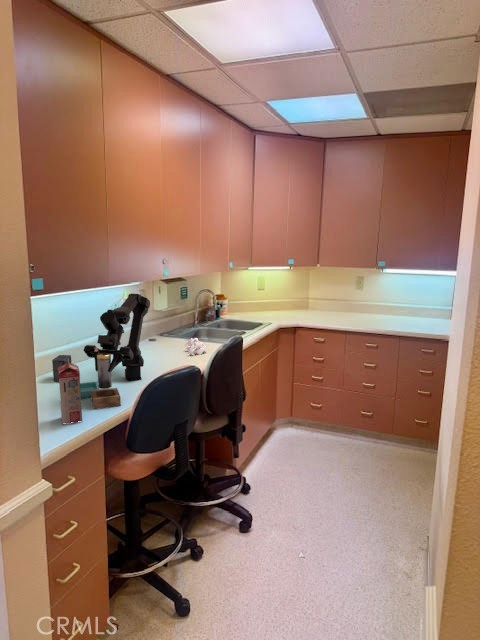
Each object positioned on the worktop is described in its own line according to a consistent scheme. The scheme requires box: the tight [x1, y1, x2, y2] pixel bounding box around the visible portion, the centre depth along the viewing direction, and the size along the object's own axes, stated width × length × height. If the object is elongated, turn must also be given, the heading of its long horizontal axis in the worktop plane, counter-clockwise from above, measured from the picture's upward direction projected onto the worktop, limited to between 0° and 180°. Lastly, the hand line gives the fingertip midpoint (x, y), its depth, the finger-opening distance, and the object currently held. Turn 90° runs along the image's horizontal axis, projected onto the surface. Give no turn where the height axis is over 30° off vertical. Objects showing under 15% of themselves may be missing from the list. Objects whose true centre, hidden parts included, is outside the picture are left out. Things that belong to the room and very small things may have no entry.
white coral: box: [183, 337, 208, 357], centre depth 244 cm, size 12×9×10 cm
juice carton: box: [58, 358, 83, 425], centre depth 152 cm, size 7×7×22 cm
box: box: [51, 354, 72, 383], centre depth 195 cm, size 8×6×11 cm
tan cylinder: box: [97, 353, 113, 390], centre depth 168 cm, size 5×5×13 cm
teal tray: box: [80, 380, 101, 400], centre depth 179 cm, size 11×11×3 cm
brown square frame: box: [90, 387, 122, 410], centre depth 170 cm, size 10×10×4 cm
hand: (102, 371), depth 166 cm, fingers closed on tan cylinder, 5 cm apart
